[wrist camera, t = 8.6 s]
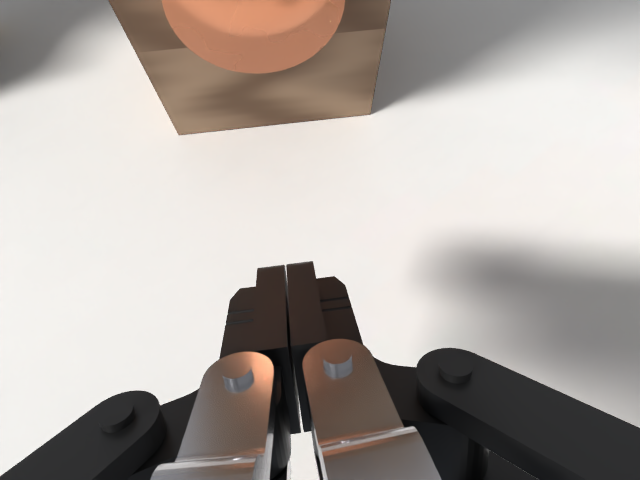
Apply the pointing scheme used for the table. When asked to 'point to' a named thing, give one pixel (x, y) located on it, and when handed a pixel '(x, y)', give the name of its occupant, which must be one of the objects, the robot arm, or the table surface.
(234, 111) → the post
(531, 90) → the table surface
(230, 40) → the pin
